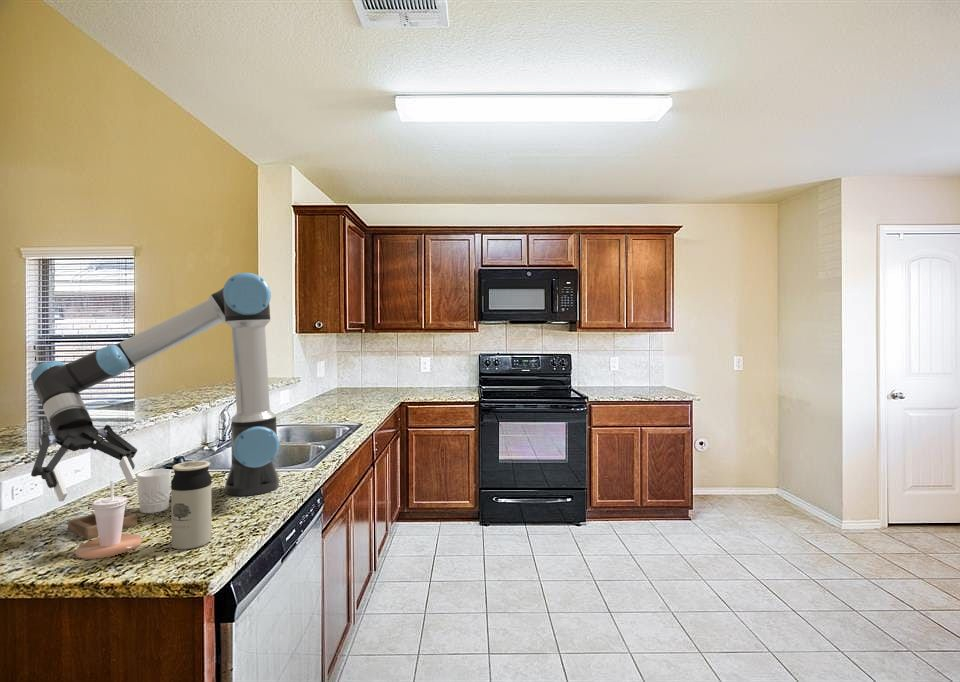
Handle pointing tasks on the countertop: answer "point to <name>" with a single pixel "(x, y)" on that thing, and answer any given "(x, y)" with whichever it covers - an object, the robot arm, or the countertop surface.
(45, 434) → the robot arm
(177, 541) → the travel mug
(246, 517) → the countertop surface
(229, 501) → the countertop surface
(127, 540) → the coaster
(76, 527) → the brown square wooden frame
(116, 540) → the smoothie
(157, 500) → the white cup
